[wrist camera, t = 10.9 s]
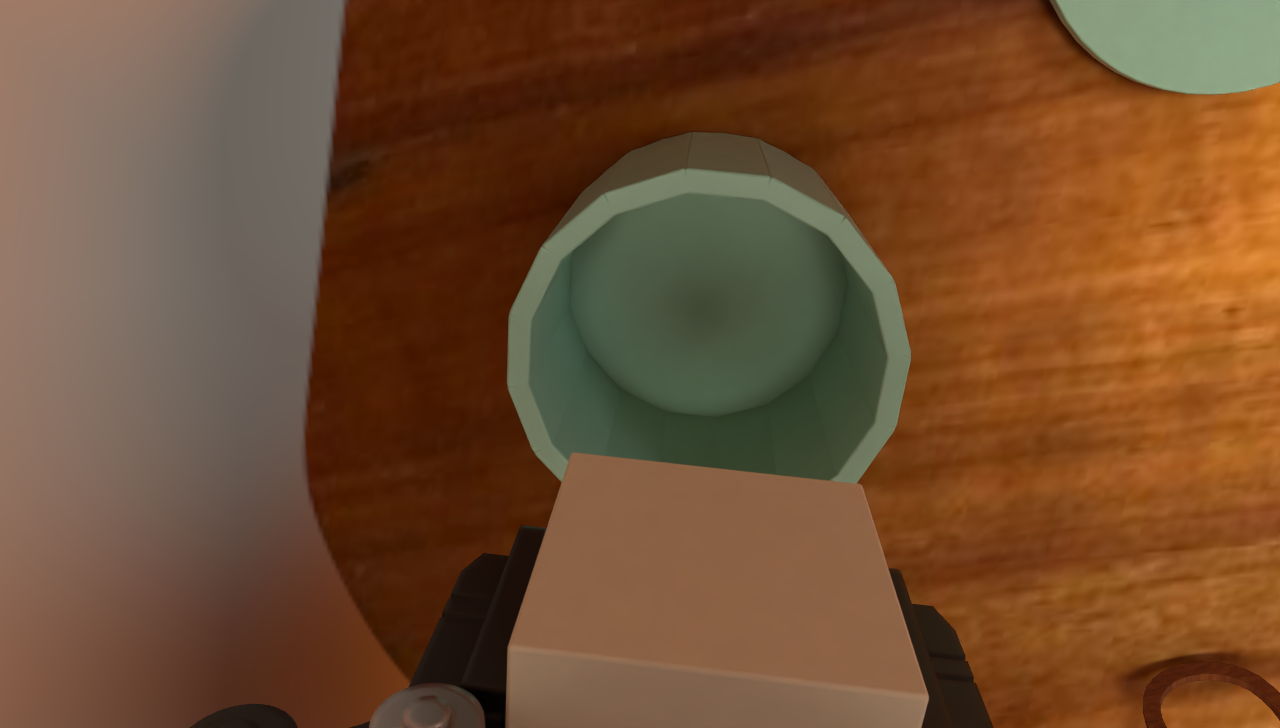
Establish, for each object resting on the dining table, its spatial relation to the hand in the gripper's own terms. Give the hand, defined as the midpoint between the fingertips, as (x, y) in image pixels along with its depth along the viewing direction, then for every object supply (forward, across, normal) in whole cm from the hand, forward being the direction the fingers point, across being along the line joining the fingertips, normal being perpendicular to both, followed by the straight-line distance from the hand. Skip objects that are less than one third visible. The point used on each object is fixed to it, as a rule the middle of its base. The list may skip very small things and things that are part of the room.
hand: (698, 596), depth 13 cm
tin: (+17, 0, 0) cm, 17 cm away
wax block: (0, 0, 0) cm, 0 cm away
